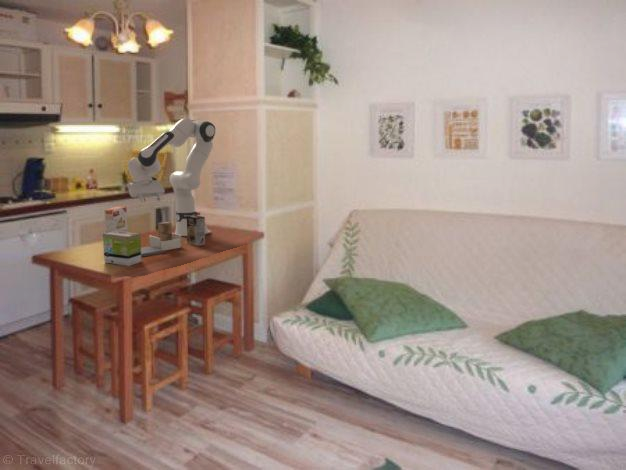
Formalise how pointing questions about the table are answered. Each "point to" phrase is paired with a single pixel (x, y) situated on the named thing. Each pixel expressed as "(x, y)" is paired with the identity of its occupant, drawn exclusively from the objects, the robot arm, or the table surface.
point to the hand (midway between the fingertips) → (151, 201)
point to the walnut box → (165, 231)
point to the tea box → (122, 248)
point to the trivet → (150, 251)
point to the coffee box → (196, 230)
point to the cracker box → (116, 219)
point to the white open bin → (165, 242)
